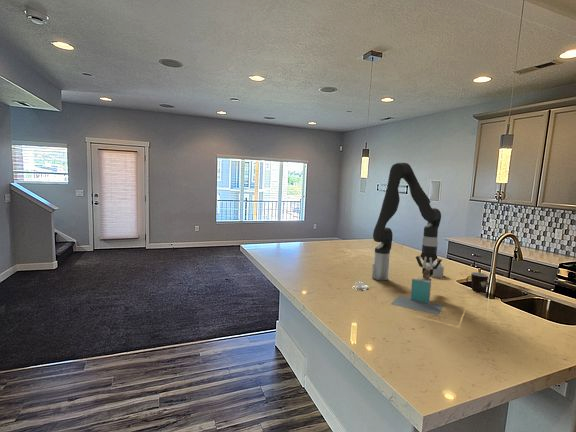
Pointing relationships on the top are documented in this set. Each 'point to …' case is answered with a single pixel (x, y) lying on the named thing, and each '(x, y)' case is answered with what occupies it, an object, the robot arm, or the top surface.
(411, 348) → the top surface
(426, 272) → the turner
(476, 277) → the coffee mug
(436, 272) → the lumpy-topped squat cylinder
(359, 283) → the teacup and saucer
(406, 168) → the robot arm
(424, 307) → the slate mat
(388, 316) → the top surface
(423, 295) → the tile
